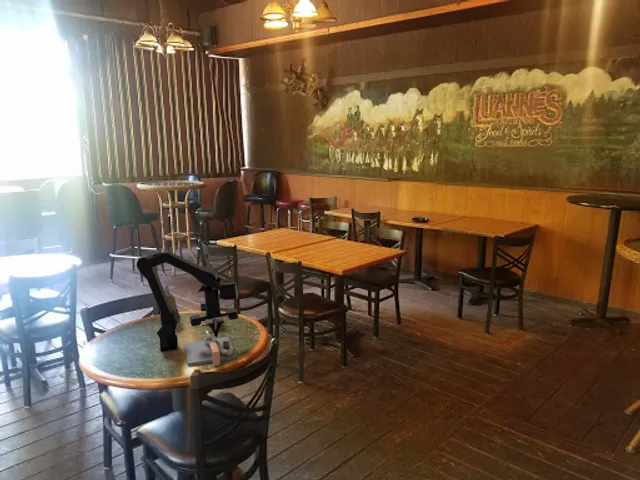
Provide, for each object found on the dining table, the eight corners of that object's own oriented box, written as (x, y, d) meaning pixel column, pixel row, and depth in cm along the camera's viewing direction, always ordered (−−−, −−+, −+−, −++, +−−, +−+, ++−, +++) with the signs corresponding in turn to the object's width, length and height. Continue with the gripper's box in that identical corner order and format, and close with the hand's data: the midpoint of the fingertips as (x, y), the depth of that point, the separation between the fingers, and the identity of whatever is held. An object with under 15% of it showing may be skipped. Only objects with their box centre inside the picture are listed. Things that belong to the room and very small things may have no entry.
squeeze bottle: (172, 318, 238) (169, 281, 234) (182, 321, 233) (179, 284, 229) (157, 323, 231) (153, 285, 228) (167, 326, 226) (163, 288, 223)
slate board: (187, 366, 186) (187, 362, 186) (183, 346, 205) (183, 342, 204) (236, 358, 192) (235, 355, 191) (227, 339, 210) (227, 336, 210)
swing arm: (235, 352, 193) (234, 340, 192) (225, 356, 190) (224, 344, 189) (212, 340, 205) (211, 329, 204) (201, 344, 202) (201, 332, 201)
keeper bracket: (213, 366, 186) (212, 352, 185) (210, 356, 194) (209, 342, 193) (220, 365, 186) (219, 351, 185) (216, 355, 195) (215, 341, 194)
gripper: (232, 291, 211) (235, 326, 214) (186, 298, 205) (190, 334, 208) (236, 299, 200) (240, 335, 204) (189, 306, 195) (193, 344, 198)
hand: (216, 337), depth 203 cm, fingers closed
